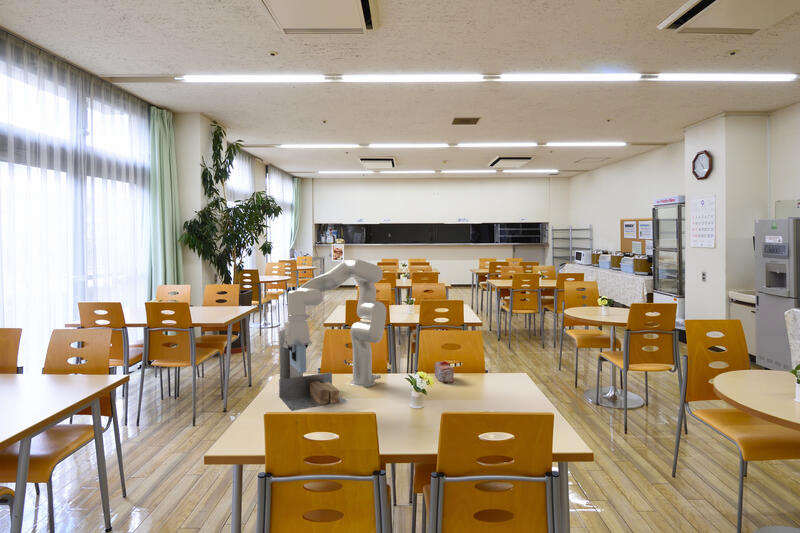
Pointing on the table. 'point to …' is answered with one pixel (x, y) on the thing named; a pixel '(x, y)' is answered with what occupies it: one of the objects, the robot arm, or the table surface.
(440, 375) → the food item
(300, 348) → the sheet
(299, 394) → the rack
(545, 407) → the table surface
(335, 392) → the offcut short
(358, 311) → the robot arm
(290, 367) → the brochure
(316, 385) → the offcut tall
